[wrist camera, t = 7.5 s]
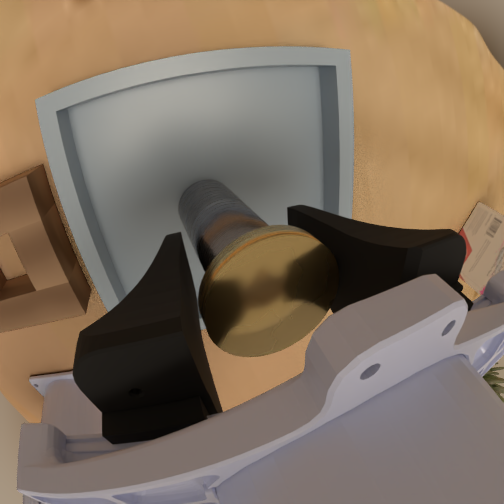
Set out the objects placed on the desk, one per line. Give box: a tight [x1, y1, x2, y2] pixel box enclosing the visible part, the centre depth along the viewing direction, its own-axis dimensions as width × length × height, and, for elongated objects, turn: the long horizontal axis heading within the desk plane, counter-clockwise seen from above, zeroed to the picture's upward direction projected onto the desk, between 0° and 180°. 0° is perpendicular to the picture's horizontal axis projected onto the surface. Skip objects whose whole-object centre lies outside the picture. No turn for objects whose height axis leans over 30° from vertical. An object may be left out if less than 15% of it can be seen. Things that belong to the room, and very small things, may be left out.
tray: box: [35, 47, 354, 330], centre depth 16 cm, size 16×16×2 cm
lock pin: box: [178, 179, 339, 357], centre depth 12 cm, size 4×4×8 cm
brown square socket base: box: [0, 164, 91, 333], centre depth 13 cm, size 9×9×2 cm
